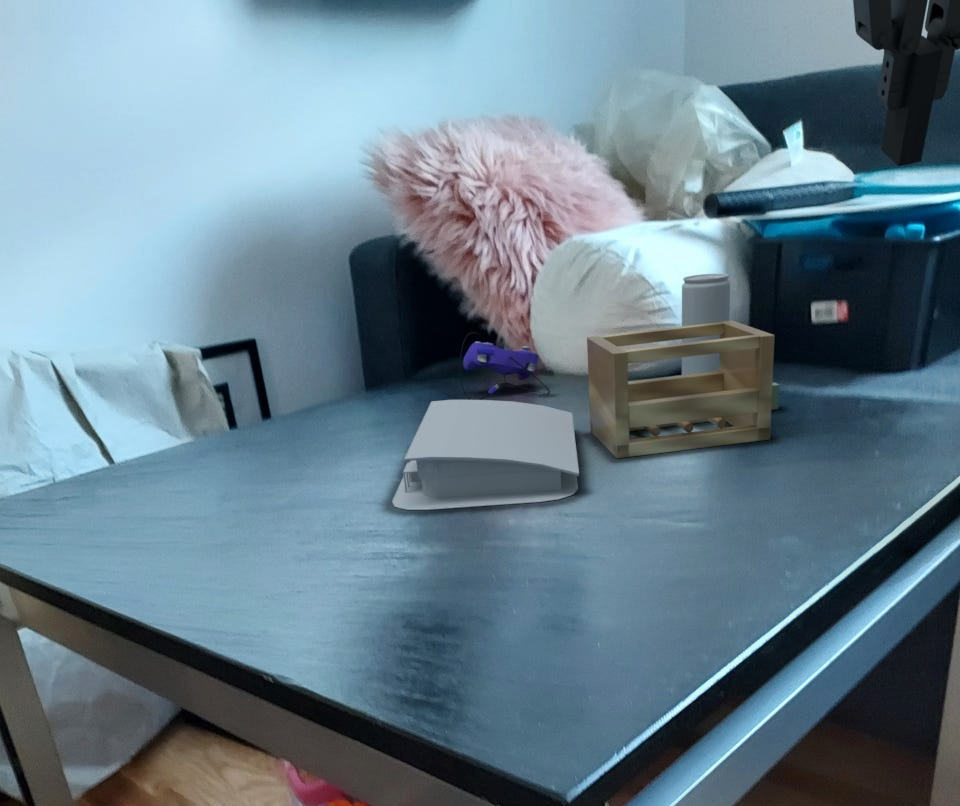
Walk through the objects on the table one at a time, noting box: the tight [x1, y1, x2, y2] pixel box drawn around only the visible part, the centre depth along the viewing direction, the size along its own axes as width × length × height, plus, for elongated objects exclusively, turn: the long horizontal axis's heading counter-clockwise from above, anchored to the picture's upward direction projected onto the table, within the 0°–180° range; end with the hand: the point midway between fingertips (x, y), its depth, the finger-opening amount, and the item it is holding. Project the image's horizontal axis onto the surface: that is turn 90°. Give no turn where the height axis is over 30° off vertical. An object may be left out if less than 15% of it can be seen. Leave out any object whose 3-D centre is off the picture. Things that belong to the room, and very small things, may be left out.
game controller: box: [459, 331, 551, 400], centre depth 112 cm, size 10×8×10 cm
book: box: [391, 399, 580, 511], centre depth 84 cm, size 15×23×4 cm, turn 177°
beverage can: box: [681, 273, 731, 375], centre depth 100 cm, size 5×5×12 cm
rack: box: [586, 319, 776, 459], centre depth 87 cm, size 14×10×9 cm
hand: (900, 155), depth 62 cm, fingers closed
